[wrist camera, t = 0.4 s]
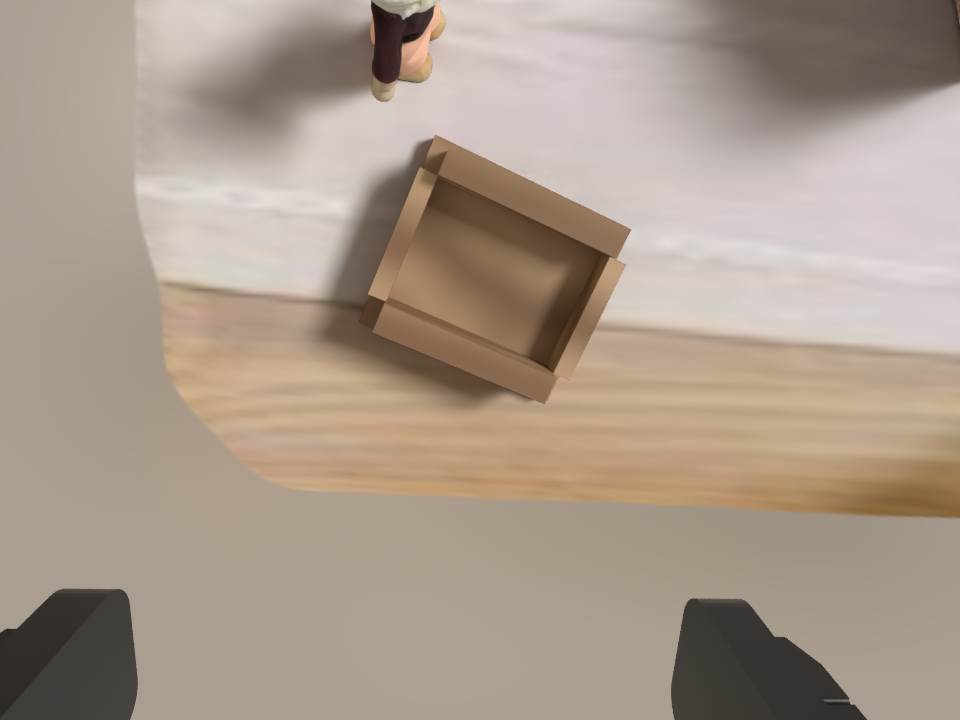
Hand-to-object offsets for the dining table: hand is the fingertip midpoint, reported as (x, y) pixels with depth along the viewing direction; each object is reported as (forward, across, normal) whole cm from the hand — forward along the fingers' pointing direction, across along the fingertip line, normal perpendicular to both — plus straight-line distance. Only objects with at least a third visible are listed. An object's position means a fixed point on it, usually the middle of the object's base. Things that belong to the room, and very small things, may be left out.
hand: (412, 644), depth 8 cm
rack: (+27, -3, -3) cm, 27 cm away
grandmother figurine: (+27, +2, -14) cm, 31 cm away
